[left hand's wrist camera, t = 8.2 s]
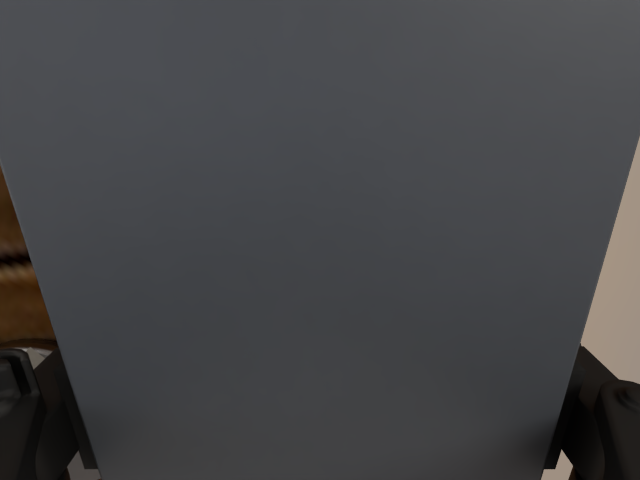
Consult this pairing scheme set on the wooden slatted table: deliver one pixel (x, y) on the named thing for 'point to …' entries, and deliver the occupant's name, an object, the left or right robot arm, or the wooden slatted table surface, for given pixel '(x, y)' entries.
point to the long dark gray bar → (318, 224)
